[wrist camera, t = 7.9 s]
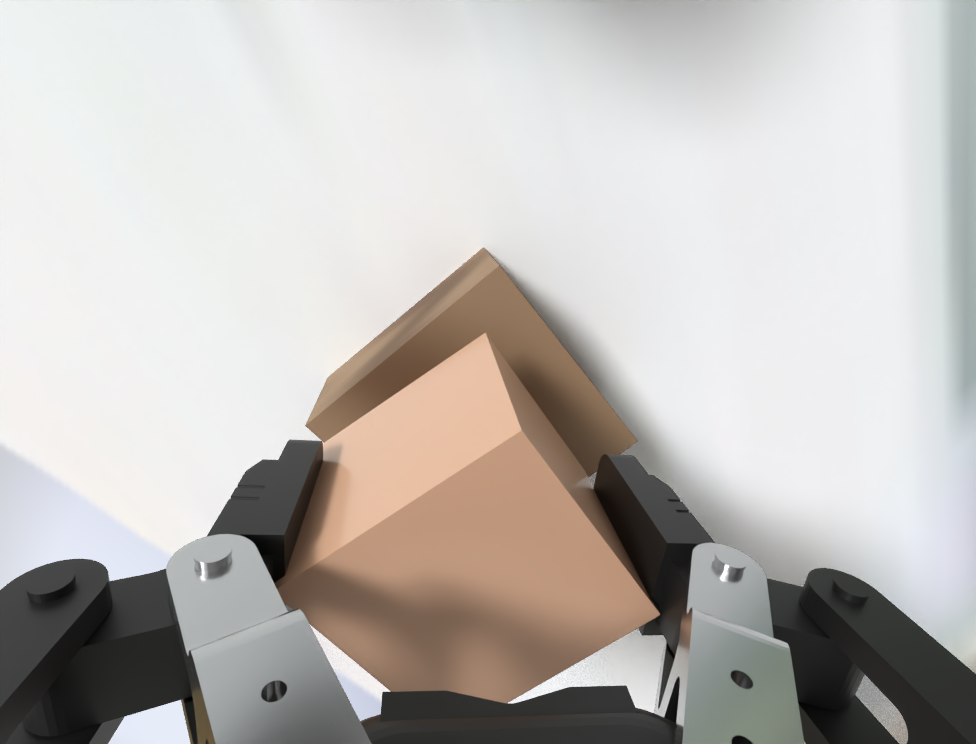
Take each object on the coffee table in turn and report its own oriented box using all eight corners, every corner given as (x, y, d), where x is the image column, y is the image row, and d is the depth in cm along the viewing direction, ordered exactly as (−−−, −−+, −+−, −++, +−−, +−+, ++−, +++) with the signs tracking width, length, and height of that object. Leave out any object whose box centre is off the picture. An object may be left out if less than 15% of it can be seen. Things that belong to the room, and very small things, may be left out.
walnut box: (482, 246, 17) (499, 265, 14) (597, 391, 20) (637, 441, 16) (328, 375, 18) (305, 425, 15) (455, 498, 21) (463, 569, 17)
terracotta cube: (485, 332, 13) (520, 430, 8) (585, 470, 15) (660, 614, 10) (324, 442, 13) (271, 592, 9) (439, 561, 15) (446, 737, 11)
